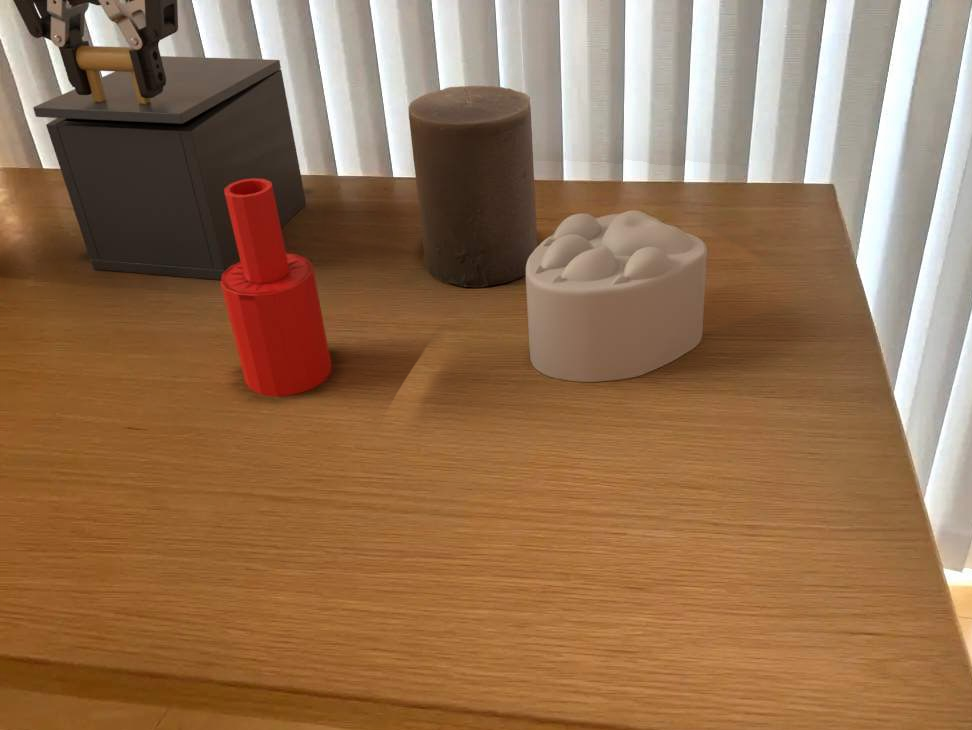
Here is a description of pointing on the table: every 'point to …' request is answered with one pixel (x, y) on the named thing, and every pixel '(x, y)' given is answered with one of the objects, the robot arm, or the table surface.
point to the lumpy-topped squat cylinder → (614, 297)
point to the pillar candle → (475, 183)
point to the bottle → (272, 299)
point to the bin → (177, 181)
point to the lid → (181, 99)
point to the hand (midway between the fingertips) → (120, 92)
